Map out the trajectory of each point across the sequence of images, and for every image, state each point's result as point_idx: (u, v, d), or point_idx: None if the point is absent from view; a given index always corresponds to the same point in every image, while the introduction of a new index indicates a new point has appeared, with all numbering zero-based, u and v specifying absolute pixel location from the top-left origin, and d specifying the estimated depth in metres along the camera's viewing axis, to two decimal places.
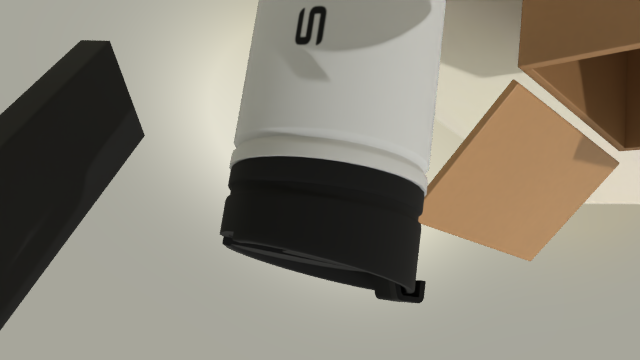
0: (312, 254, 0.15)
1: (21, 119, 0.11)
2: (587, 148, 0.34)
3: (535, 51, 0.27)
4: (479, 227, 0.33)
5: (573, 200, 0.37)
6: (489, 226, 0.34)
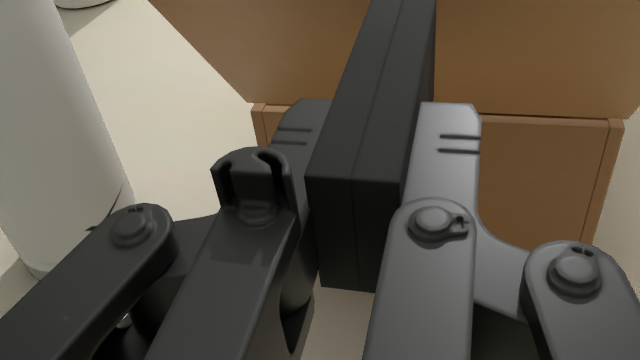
0: None
1: (374, 65, 0.11)
2: None
3: None
4: None
5: None
6: None
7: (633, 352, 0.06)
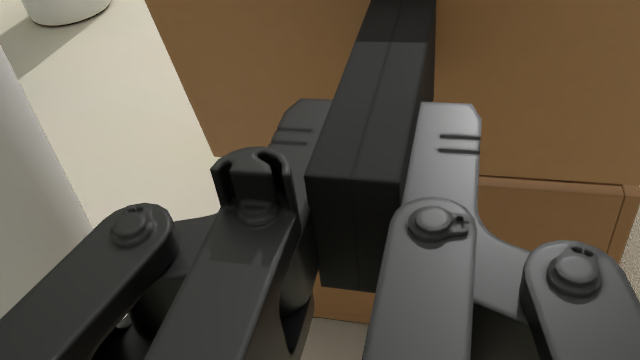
0: None
1: (374, 65, 0.11)
2: None
3: None
4: None
5: None
6: None
7: (633, 352, 0.06)
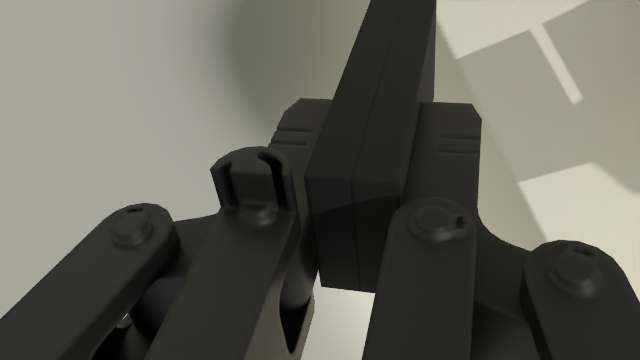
0: None
1: (374, 65, 0.11)
2: None
3: None
4: None
5: None
6: None
7: (633, 352, 0.06)
